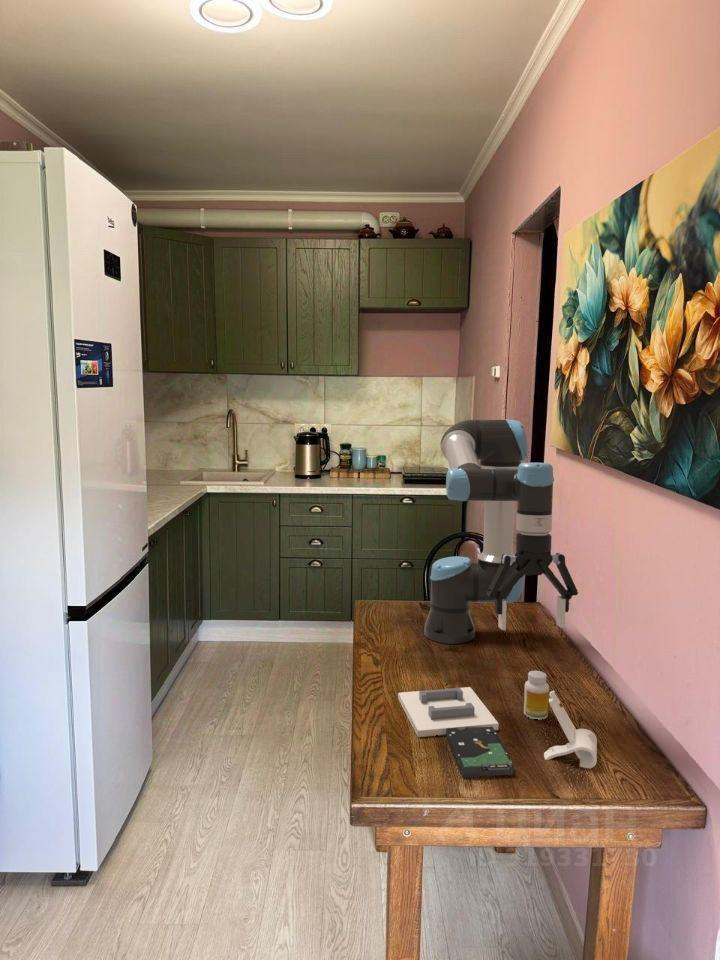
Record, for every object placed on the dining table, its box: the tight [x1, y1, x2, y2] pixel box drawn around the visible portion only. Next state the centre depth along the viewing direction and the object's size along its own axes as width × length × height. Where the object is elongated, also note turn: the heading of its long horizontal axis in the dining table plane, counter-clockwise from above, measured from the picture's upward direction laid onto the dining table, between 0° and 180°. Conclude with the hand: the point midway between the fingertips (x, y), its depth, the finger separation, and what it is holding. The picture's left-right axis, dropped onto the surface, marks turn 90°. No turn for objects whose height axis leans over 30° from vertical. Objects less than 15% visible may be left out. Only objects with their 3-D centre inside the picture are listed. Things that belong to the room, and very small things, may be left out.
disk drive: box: [445, 727, 515, 778], centre depth 133 cm, size 10×3×15 cm
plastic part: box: [543, 690, 598, 769], centre depth 132 cm, size 8×10×12 cm
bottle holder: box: [397, 686, 499, 738], centre depth 150 cm, size 18×18×4 cm
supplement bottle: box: [523, 670, 550, 721], centre depth 149 cm, size 5×5×10 cm
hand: (531, 627), depth 146 cm, fingers open, 13 cm apart
